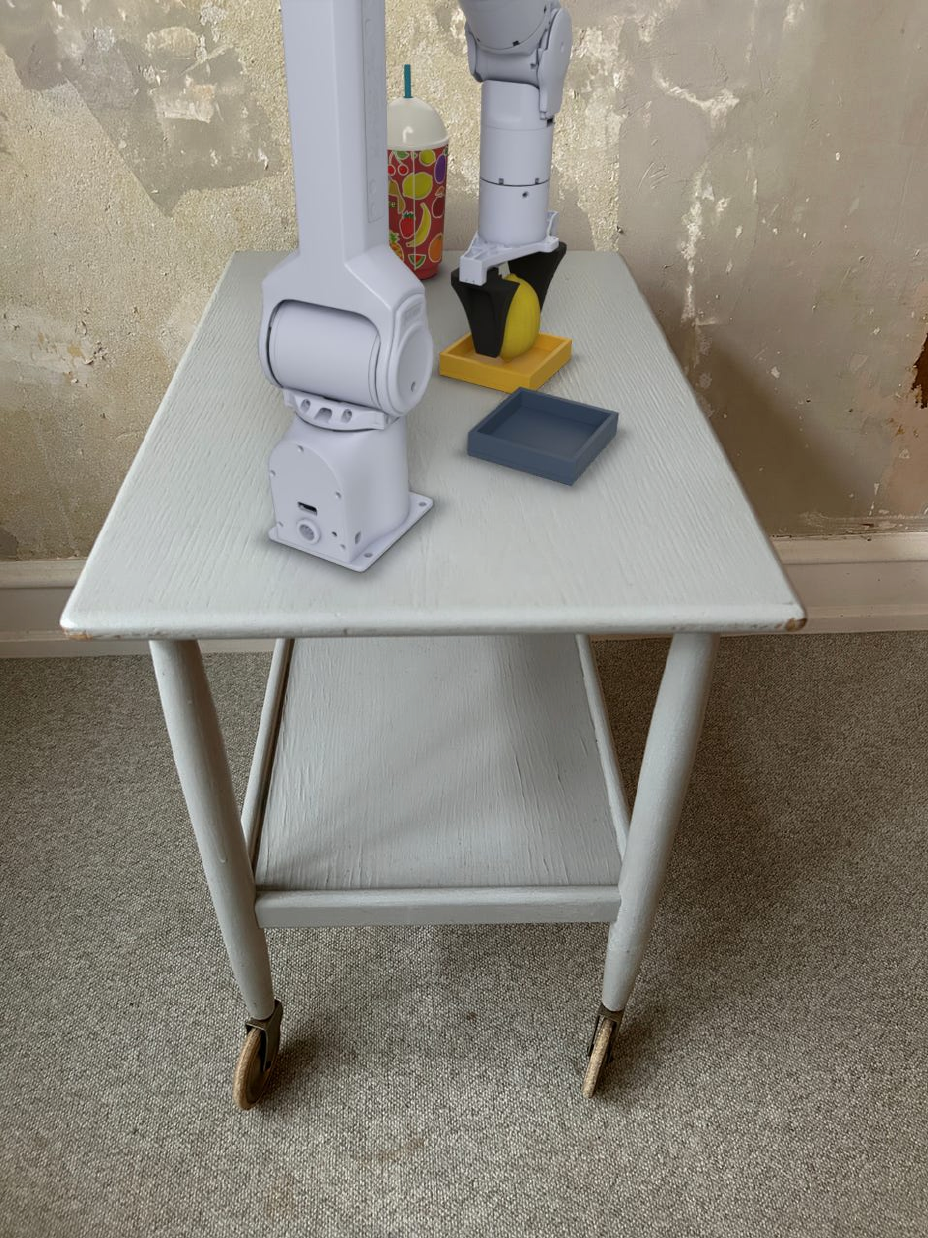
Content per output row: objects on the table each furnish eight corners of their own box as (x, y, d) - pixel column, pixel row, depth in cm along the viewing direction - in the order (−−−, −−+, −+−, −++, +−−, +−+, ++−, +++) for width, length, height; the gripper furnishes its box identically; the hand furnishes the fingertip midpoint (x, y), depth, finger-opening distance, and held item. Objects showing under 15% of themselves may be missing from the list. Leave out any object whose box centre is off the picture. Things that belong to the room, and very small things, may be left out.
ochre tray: (528, 398, 78) (529, 376, 77) (439, 374, 82) (439, 353, 80) (570, 359, 84) (572, 338, 83) (485, 338, 88) (486, 318, 86)
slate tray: (571, 486, 68) (574, 463, 67) (467, 454, 71) (467, 432, 70) (616, 434, 74) (619, 412, 73) (518, 407, 77) (519, 386, 76)
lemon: (532, 378, 80) (539, 288, 75) (472, 371, 81) (473, 282, 76) (541, 352, 84) (547, 265, 79) (483, 346, 85) (485, 260, 80)
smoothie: (367, 261, 103) (356, 58, 90) (437, 255, 105) (436, 55, 92) (384, 288, 97) (375, 74, 84) (458, 281, 99) (460, 70, 86)
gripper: (519, 208, 66) (510, 380, 75) (595, 162, 76) (580, 319, 85) (436, 193, 69) (437, 361, 78) (520, 150, 78) (513, 304, 87)
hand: (507, 338), depth 81 cm, fingers open, 7 cm apart
